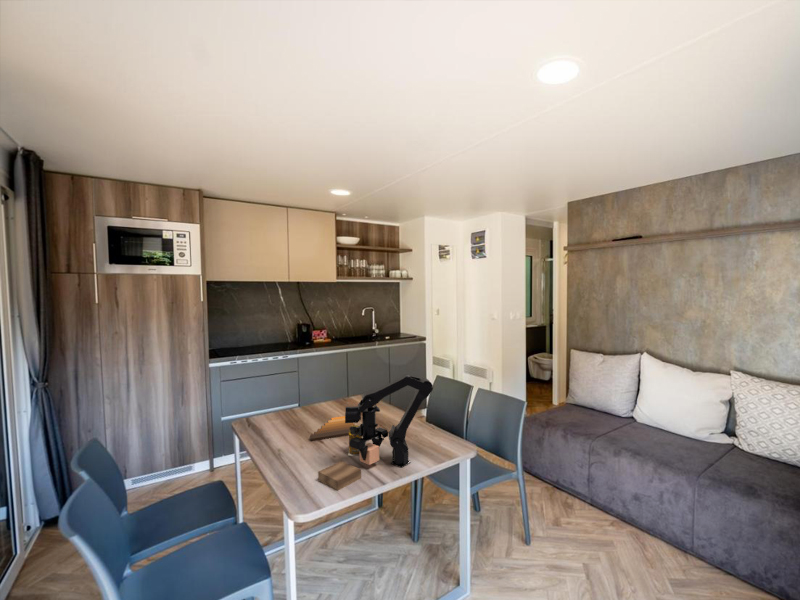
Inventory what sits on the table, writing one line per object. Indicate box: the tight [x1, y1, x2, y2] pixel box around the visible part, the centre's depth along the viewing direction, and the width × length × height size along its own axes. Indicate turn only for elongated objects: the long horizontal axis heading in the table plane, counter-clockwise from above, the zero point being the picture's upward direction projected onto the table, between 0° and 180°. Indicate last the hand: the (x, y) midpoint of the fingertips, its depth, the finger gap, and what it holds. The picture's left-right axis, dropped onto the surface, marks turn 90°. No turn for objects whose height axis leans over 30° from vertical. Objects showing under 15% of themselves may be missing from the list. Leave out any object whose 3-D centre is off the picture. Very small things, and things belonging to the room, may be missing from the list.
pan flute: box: [309, 415, 356, 442], centre depth 202 cm, size 25×3×25 cm
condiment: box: [347, 424, 363, 457], centre depth 172 cm, size 7×8×12 cm
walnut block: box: [317, 460, 362, 491], centre depth 147 cm, size 12×12×4 cm
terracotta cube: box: [359, 442, 380, 466], centre depth 159 cm, size 6×6×6 cm
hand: (369, 457), depth 159 cm, fingers closed on terracotta cube, 6 cm apart
